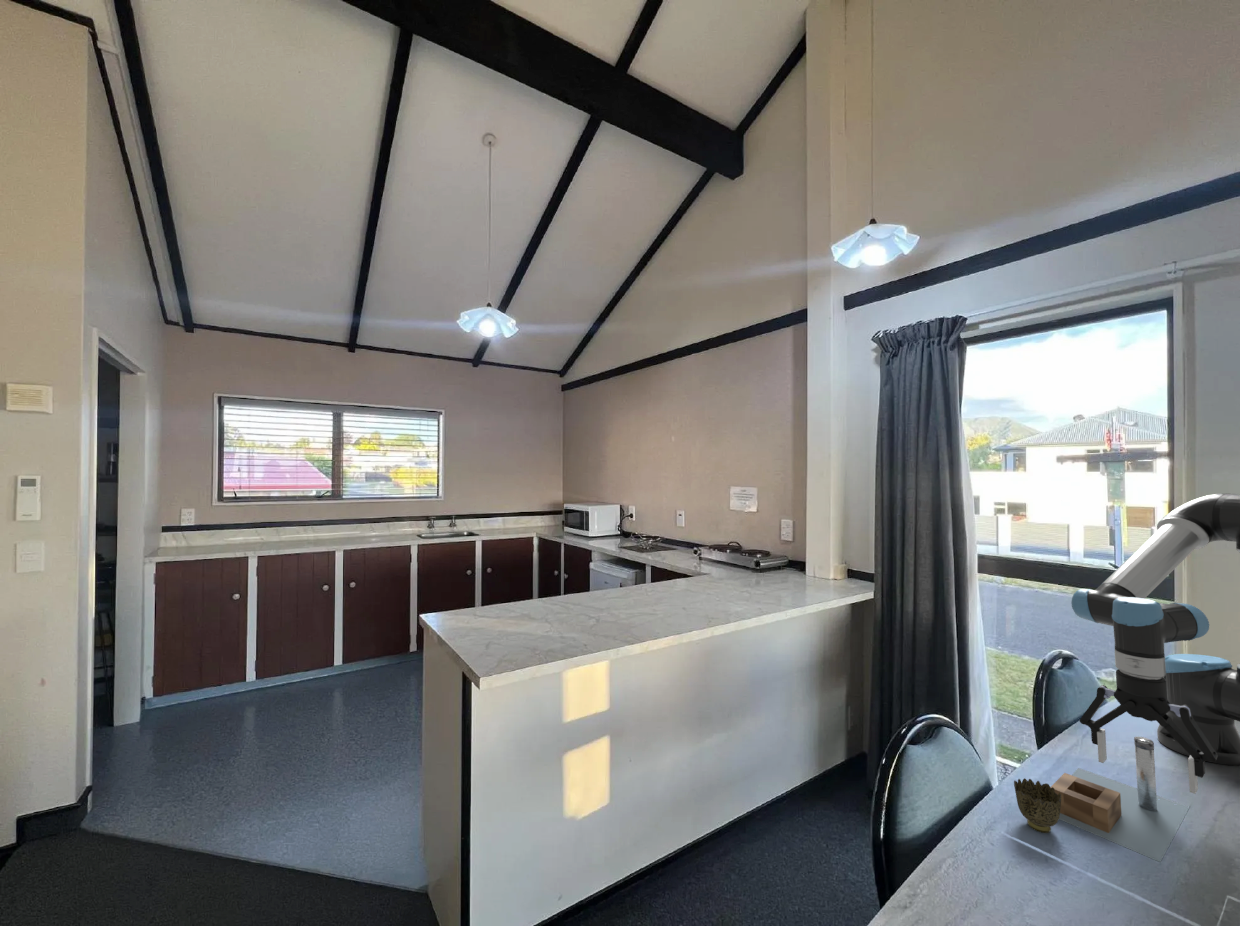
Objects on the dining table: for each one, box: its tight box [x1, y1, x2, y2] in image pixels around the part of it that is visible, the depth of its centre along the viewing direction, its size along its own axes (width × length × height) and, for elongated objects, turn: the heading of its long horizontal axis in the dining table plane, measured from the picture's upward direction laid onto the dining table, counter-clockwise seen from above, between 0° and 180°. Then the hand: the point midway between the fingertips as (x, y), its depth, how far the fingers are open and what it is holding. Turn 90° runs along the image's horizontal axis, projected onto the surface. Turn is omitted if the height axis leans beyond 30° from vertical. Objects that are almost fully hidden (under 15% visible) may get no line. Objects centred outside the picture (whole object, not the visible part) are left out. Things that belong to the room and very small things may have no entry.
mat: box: [1058, 767, 1190, 863], centre depth 108 cm, size 26×18×1 cm
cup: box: [1013, 777, 1062, 834], centre depth 103 cm, size 8×7×8 cm
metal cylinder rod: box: [1133, 736, 1158, 812], centre depth 108 cm, size 3×3×14 cm
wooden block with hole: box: [1050, 772, 1121, 833], centre depth 107 cm, size 9×9×4 cm
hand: (1145, 774), depth 108 cm, fingers open, 13 cm apart
